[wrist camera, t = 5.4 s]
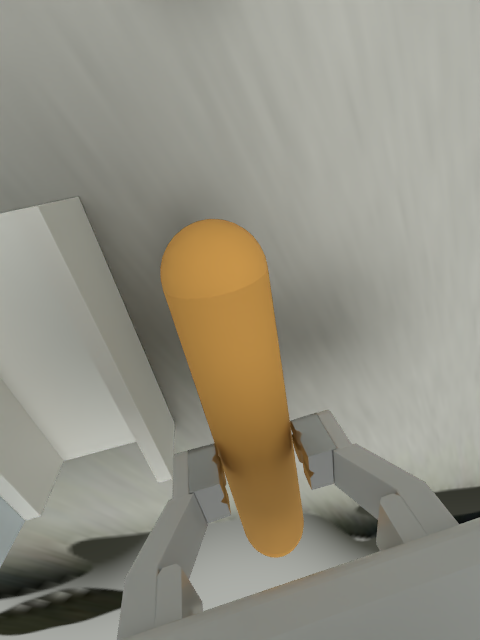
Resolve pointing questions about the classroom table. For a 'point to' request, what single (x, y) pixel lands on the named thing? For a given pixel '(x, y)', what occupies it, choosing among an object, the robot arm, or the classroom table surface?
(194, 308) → the rod
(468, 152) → the classroom table surface
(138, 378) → the duct
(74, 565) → the classroom table surface
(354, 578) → the robot arm
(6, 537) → the cover
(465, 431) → the classroom table surface
